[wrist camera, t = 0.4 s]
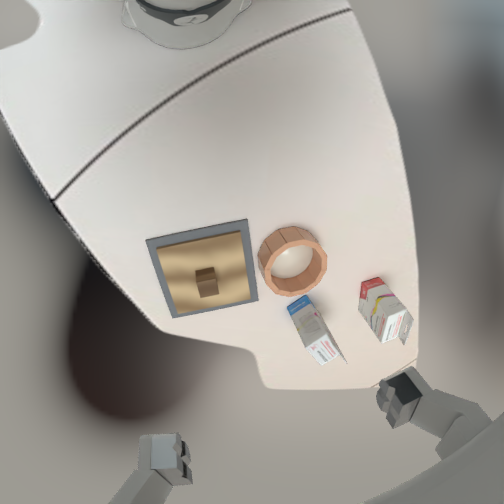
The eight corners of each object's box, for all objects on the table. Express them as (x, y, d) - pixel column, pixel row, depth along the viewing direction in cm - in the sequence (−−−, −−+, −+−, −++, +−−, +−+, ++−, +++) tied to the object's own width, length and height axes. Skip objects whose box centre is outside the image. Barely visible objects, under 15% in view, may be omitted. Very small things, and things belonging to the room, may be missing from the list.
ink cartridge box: (360, 282, 60) (396, 325, 47) (379, 276, 61) (416, 317, 48) (357, 310, 64) (387, 354, 52) (374, 304, 65) (406, 346, 52)
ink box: (285, 307, 59) (309, 360, 46) (305, 293, 58) (334, 345, 46) (302, 328, 63) (327, 378, 50) (321, 315, 62) (349, 364, 50)
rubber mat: (146, 239, 46) (145, 241, 45) (246, 218, 48) (247, 220, 47) (172, 316, 54) (172, 318, 54) (257, 299, 56) (258, 300, 56)
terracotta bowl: (254, 233, 49) (261, 247, 45) (315, 222, 50) (327, 234, 46) (261, 285, 55) (267, 302, 51) (316, 273, 56) (326, 287, 52)
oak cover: (156, 247, 46) (154, 260, 42) (239, 230, 48) (244, 242, 44) (177, 311, 53) (178, 327, 49) (250, 296, 55) (254, 311, 51)
